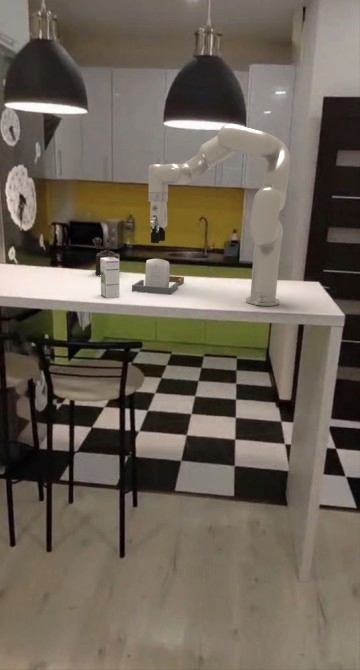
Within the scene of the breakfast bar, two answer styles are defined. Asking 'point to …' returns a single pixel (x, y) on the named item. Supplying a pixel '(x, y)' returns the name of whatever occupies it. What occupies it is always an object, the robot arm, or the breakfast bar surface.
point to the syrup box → (109, 277)
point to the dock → (176, 279)
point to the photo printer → (157, 273)
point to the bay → (154, 288)
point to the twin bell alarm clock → (102, 254)
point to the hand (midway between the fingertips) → (158, 241)
